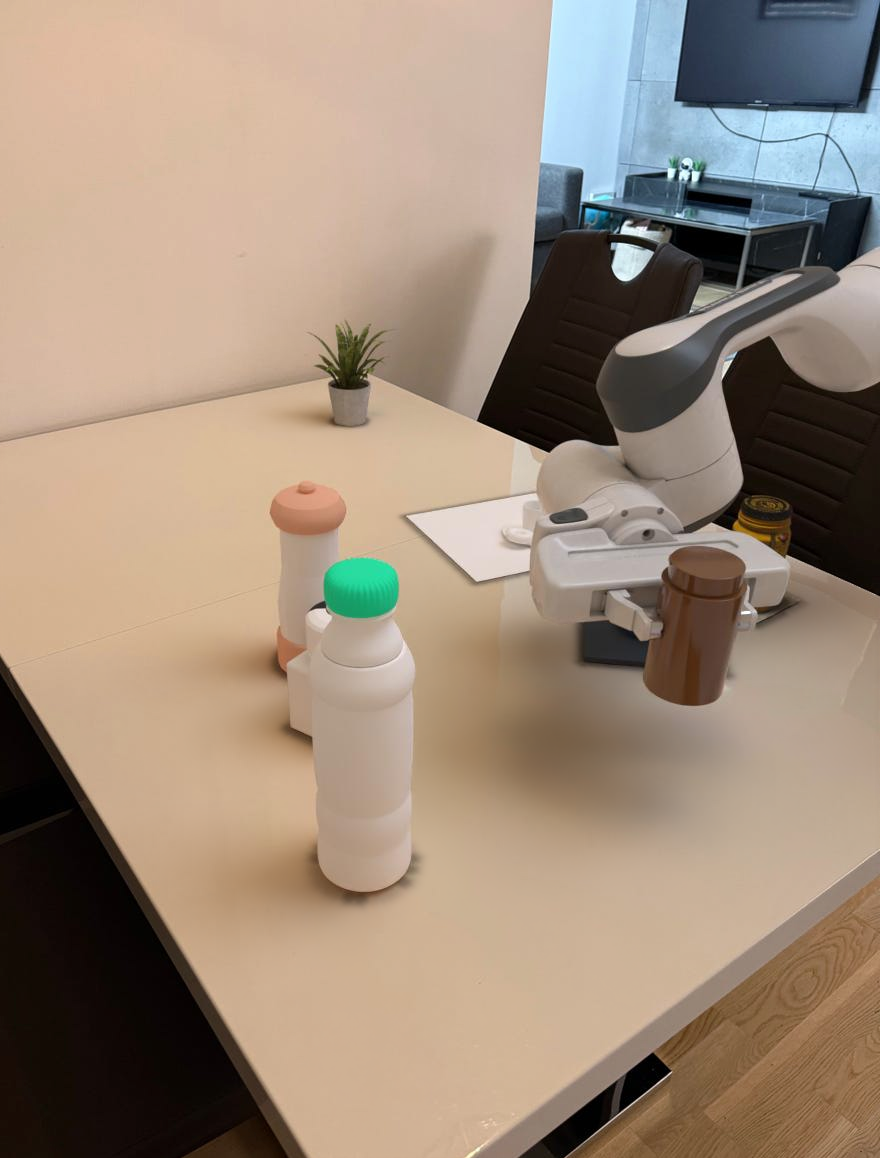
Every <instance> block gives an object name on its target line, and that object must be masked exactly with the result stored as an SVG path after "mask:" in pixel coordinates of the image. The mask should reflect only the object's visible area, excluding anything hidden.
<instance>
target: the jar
mask: <svg viewBox="0 0 880 1158" xmlns="http://www.w3.org/2000/svg"><path fill="white" fill-rule="evenodd" d="M668 561H669V566H668V567H666V568H665V569H664V570H663V572H662V574H661V579H660V585H659V590H658V596H657V601H656V607H655V610H656V611H657V613H658V616H660V617H661V618H662V619H663V624H664V626H663V629H662V630H661V633H662V636H661V639H657V640H649V645H648V651H647V656H646V661H645V667H643V673H642V682H643V684H644V686H645V687H646V689H647V690H648V691H649V692H650V693H651V694H653V695H654V696H656V697H657V698H659V699H661V700H663V701H666V702H668V703H671V704H675V705H679V706H685V707H686V706H687V707H700V706H706V705H707V706H708V705H710V704H713V703H714V702H716V701H718V700H719V699H720V698H721V697H722V695H723V692H724V688H725V686H726V685H725V684H726V679H727V675H728V672H729V667H730V664H731V658H732V655H733V651H734V647H735V643H736V638H737V635H738V632H737V630H738V626H739V622H740V618H741V614H742V609H743V605H744V601H745V597H746V593H747V583H746V581H745V580H744V575H745V571H746V565H745V563H744V562H743V560H742V559H740V558H739V557H738V556H736V555H734V554H732V553H730V552H728V551H725V550H722V549H718V548H714V547H708V546H688V547H683V548H679V549H677V550H675V551H674V552H673V553H672V554H671V555H670V556H669V558H668Z"/></svg>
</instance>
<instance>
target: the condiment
mask: <svg viewBox="0 0 880 1158" xmlns="http://www.w3.org/2000/svg"><path fill="white" fill-rule="evenodd" d="M793 514H794V510H793V506H792V505H791V504H790V503H789V502H788V501H786V500H785V499H782V498H780V497H776V496H771V495H762V494H761V495H760V494H758V495H757V494H755V495H751V496H747V497H746V498H744V499H743V500H742V502H741V503H740V509H739V512H738V515H737V520H735V522H734V523H733V524H732V529H731V531H736V532H741V533H745V534H747V535H750V536H752V537H754V538H755V539H757V540H759V541H760V542H762V543H763V544H765V545H766V546H768V547H769V548H771V549H772V550H774V551H775V552H777V553H778V554H779V555H781V556H782V557H783V558H785V559H786V557H787V553H788V549H789V545H790V542H791V537H792V531H791V524H792V516H793ZM800 601H802V598H799V597H797V596H793V595H791V594H788V593H786V592H785V594H784V596H783V598H782V600H781V602H780V603H779V604H778V605H775V606H765V607H753V608H754V609H755V610H756V611H757V616H758V617H757V622H756V624H758V623H759V622H761V621H764V620H766V619H768V618H770V617H772V616H774V615H776V614H778V613H779V612H782V611H783V610H784V609H787V608H788V607H791V606H793V605H794V604H796V603H797V602H800Z"/></svg>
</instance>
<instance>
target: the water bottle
mask: <svg viewBox="0 0 880 1158" xmlns="http://www.w3.org/2000/svg"><path fill="white" fill-rule="evenodd" d="M398 576H399V575H398V573H397V571H396V569H395V568H394V567H393V566H392V565H391V564H389V563H388V562H386V561H383V560H379V559H376V558H373V557H371V558H370V557H362V556H361V557H355V558H354V557H350V558H345V559H342V560H339V562H337V563H336V564H334V565H332V566H331V567H330V568H329V569H328V570H327V571H326V573H325V577H324V584H323V587H324V599H325V603H326V608H327V611H328V612H329V613H330V615H332V619H331V621H330V622H329V623H328V625H327V626H326V628H325V629H324V631H323V634H322V637H321V640H320V641H319V643H318V645H317V647H316V649H315V651H314V653H313V655H312V658H311V661H310V666H309V678H310V683H311V686H312V688H313V696H312V737H311V738H312V739H311V740H312V754H313V767H314V775H315V782H316V796H315V815H316V822H317V826H318V831H317V843H316V844H317V845H316V847H317V851H316V852H317V861H318V865H319V868H320V870H321V872H322V873H323V875H324V876H325V877H326V878H327V879H328V880H329V881H330V882H331V883H333V884H334V885H336V886H338V887H339V888H342V889H344V890H348V891H351V892H358V893H359V892H360V893H369V892H376V891H380V890H383V889H385V888H388V887H391V886H392V885H394V884H395V883H397V882H398V881H400V879H401V878H403V876H405V874H406V872H407V871H408V869H409V867H410V864H411V859H412V832H411V821H412V816H413V815H412V814H413V798H412V792H411V781H412V774H413V773H412V772H413V764H414V763H413V761H414V737H415V735H414V734H415V733H414V732H415V731H414V730H415V727H414V726H415V720H414V719H415V718H414V717H415V714H414V713H415V712H414V696H413V686H414V683H415V680H416V663H415V659H414V656H413V654H412V652H411V650H410V648H409V646H408V645H407V642H406V641H405V639H404V638H403V635H402V631H401V629H400V628H399V626H398V624H397V623H396V622H395V621H394V620H393V618H392V615H393V614H394V613H395V611H396V609H397V606H398V601H399V596H400V583H399V581H400V580H399V577H398Z"/></svg>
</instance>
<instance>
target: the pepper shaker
mask: <svg viewBox="0 0 880 1158" xmlns="http://www.w3.org/2000/svg"><path fill="white" fill-rule="evenodd" d="M270 504H271V505H270V509H269V515H270V517H271V520H272V522H273V524H274V525H275V527H276V528H278V529H279V544H280V545H279V546H280V562H281V563H280V564H281V568H280V577H279V578H280V579H279V586H278V595H277V608H278V619H279V625H278V627H277V631H276V643H277V644H276V645H277V646H276V647H277V660H278V664H279V666H280V669H282V670H283V671H284V672H285V673H286V674H287V666H286V665H287V663H288V662H289V661H291V660H292V659H294V658H295V657H297V656H298V655H300V654H301V653H303V652H304V651H306V650H307V638H306V614H307V613H308V611H309V610H310V609H311V608H312V607H313V606H314V605H316V604H317V603H320V602H322V601H325V599H324V587H323V584H324V577H325V573H326V571H327V570H328V569H329V568H330V567H331V566H332V565H334V564H336V563H337V562H340V547H339V544H340V541H339V528H340V526H341V525H342V524H343V522H344V520H345V517H346V515H347V506H346V502H345V500H344V499H343V498H342V496H341V494H340V493H339V492H338V490H335V488H332V487H329V486H326V485H322V484H319V483H315V482H314V481H312V480H303V481H301V482H299V483H298V484H294V485H291V486H287V487H286V488H283V489H281V490H279V491H278V492H277V493H276V494H275V496H274V498H273V499H272V500H271V503H270Z"/></svg>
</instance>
